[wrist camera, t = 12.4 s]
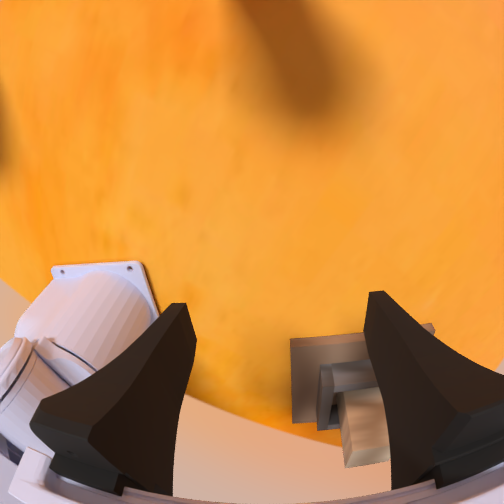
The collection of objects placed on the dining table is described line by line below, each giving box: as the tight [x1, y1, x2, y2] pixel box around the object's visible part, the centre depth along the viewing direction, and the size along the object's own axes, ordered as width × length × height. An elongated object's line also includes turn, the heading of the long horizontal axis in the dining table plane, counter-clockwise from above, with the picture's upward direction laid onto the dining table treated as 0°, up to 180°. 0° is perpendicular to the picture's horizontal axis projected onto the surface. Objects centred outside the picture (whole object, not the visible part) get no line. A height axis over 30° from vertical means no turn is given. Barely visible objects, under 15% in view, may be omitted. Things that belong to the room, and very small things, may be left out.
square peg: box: [336, 387, 390, 468], centre depth 23 cm, size 4×4×8 cm
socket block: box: [290, 323, 435, 431], centre depth 26 cm, size 13×13×4 cm
